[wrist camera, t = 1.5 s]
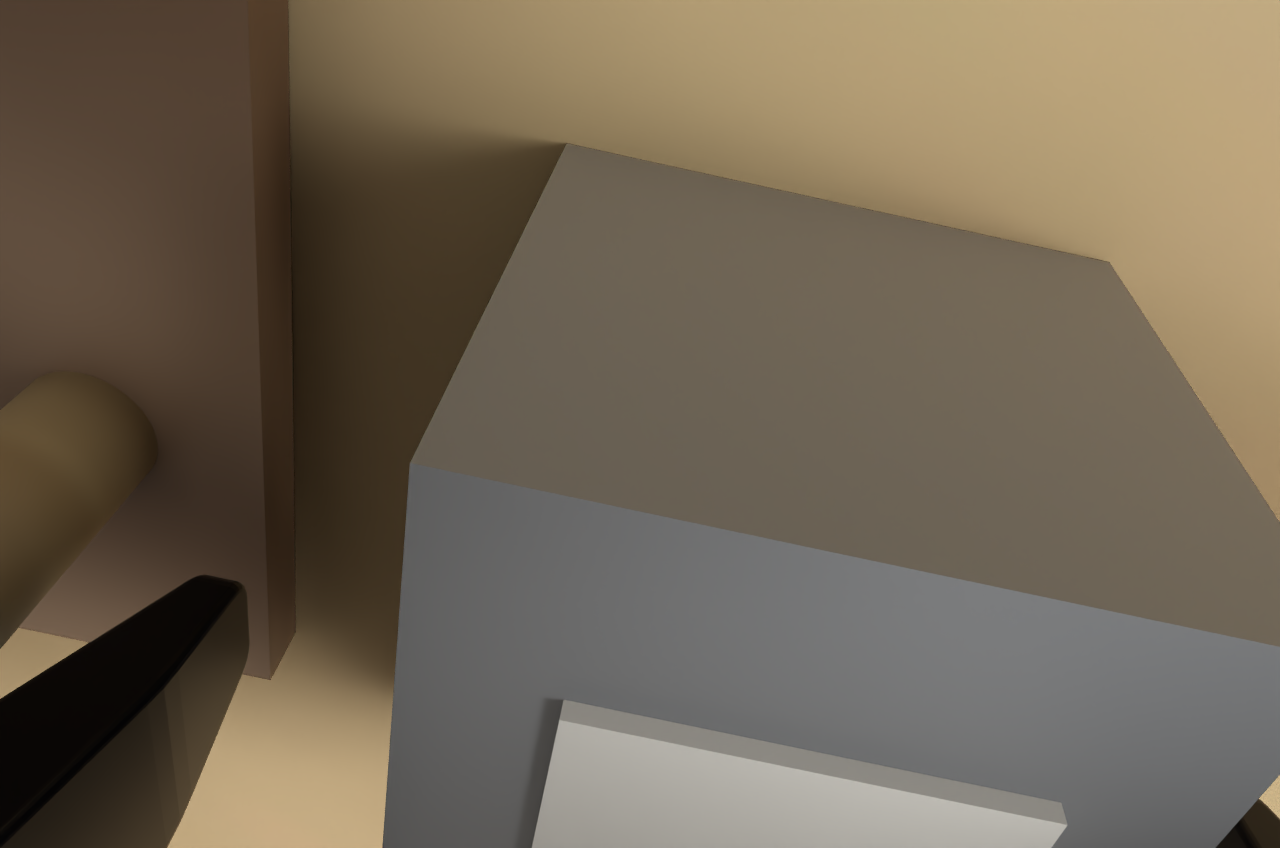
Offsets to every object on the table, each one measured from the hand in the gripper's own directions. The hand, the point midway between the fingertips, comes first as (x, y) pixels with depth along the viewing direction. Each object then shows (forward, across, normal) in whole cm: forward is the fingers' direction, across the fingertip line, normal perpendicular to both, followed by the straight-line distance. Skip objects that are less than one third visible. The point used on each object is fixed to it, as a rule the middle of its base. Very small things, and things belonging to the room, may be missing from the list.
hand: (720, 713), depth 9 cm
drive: (+3, 0, 0) cm, 3 cm away
